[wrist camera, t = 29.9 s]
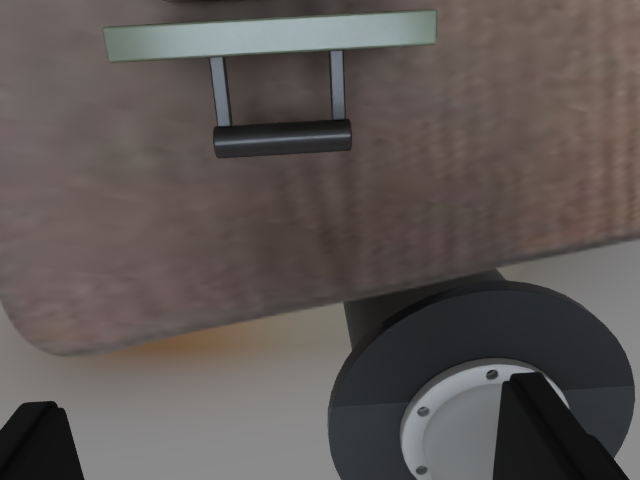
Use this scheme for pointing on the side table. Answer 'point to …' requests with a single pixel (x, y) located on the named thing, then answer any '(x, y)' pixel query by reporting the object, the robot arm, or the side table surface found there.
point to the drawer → (273, 39)
